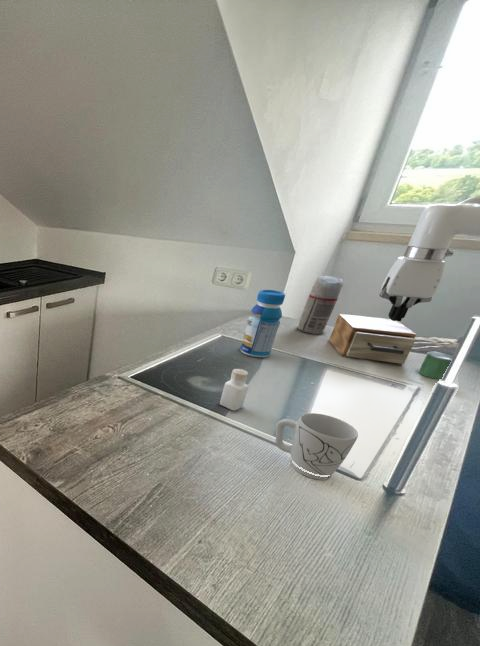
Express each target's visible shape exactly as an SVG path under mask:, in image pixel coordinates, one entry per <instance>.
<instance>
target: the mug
mask: <svg viewBox="0 0 480 646" xmlns="http://www.w3.org/2000/svg"><path fill="white" fill-rule="evenodd" d="M287 426H288V427H291V428H292V429H293V430H294V437H293V440H292V445H287V444H285V443H284V441H283V439H284V433H285V432H284V431H285V428H286V427H287ZM358 437H359V433H358V431H357V429H356V428H354V426H353V425H351V424H349V423H348V422H346V421H344V420H342V419H339V418H337V417H334V416H331V415H327V414H322V413H315V412H309V413H304V414H302V415H300V417H299V419H298V421H297V420H296V419H295V420H294V419H291V418H283V419H280V420H279V421H278V422H277V424H276V428H275V439H274V440H275V441H274V442H275V445H276V448H278V449H279V450H281V451H282V452H285V453H288V454H290V459H291V458H292V460H293V461H294V462H295V463H296V464H297V465H298V466H299V467H302V468H303V469H305V470H307V471H309V472H312V473H314V474H319V475H331V476H328V477H320V476H315V475H312V474H309V473H307V472H304V471H302V470H301V469H299V468H298V467H296V466H295V465H294V464H293V463H292V461H291V460H290V465H291V466H292V468H293V469H294V470H296V472H298V473H299V474H300V475H303V476H305V477H307V478H310V479H314V480H319V481H320V480H321V481H323V480H327V479H330V478H331V477H332V476H333V475H334V473H335V472H336V471H337V470H338V468H339V467H340V466H341V465H342V463H343V462H344V461H345V460H346V459H347V456H348V455H349V454H350V451H351V450H352V448H353V446H354V445H355V443H356V441H357V439H358ZM332 474H333V475H332Z"/></svg>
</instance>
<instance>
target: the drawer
mask: <svg viewBox="0 0 480 646" xmlns="http://www.w3.org/2000/svg"><path fill="white" fill-rule="evenodd" d="M415 342H416V338H408V336H403V335H394V334H385V333H377V332H368V331H359V330H355V332H354V335H353V337H352V340H351V342H350V345H349V347H348V350H347V354H346V355H347V356H350V357H349V358H354V357H357V358H356V359H361V358H364V359H363V360H369V359H372V360H371V361H376V360H379V361H378V362H383V361H387V362H386V363H391V362H394V363H393V364H398V363H402V364H404V365H405V362H406V360H407V358H408V356H409V354H410V352H411V350H412V348H413V346H414V344H415ZM402 364H401V365H402Z"/></svg>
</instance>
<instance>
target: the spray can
mask: <svg viewBox="0 0 480 646" xmlns="http://www.w3.org/2000/svg"><path fill="white" fill-rule="evenodd" d="M343 286H344V280H343V279H342V278H337V277H335V276H333V275H329V274H327V275H320V276H318V277H316V279H315V281H314V283H313V285H312V287H311V289H310V293H309V295H308V297H307V298H306V302H305V304H304V307H303V310H302V313H301V316H300V318H299V322H298V326H297V327H296V329H298V330H299V331H301V332H304V333H306V334H312V335H322V334H324V331H325V330H326V327H327V324H328V322H329V320H330V318H331V315H332V314H333V311H334V308H335V306H336V304H337V301H338V299H339V296H340V293H341V290H342V288H343Z"/></svg>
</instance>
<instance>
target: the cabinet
mask: <svg viewBox="0 0 480 646" xmlns="http://www.w3.org/2000/svg"><path fill="white" fill-rule="evenodd" d="M355 330H359V331H368V332H377V333H385V334H394V335H403V336H408V338H414V339H416V336H417V333H415V332H414V331H413V330H411V329H409V328H408V327H407V326H405V325H404V324H402V323H401V322H400V321H397V320H396V321H392V320H391V319H390V318H384V317H373V316H364V315H363V316H362V315H354V314H344V313H339V314H338V316H337V318H336V322H335V324H334V326H333V329H332V332H331V334H330V337H329V342H330V343H331V345H332V346H333V347H334V348H335V350H336V351H337V352H338V353H339V354H340V356H342V357H346V358H347V357H348V358H351V357H350V356H347V355H346V354H347V350H348V347H349V345H350V342H351V340H352V337H353V335H354V332H355ZM353 358H355V359H358V358H357V357H353ZM360 359H362V360H365V359H364V358H360ZM368 360H370V361H373V360H372V359H368ZM375 361H376V362H380V361H379V360H375ZM382 362H385V363H388V362H387V361H382ZM390 363H391V364H395V363H394V362H390ZM397 364H399V365H402V363H397Z"/></svg>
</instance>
